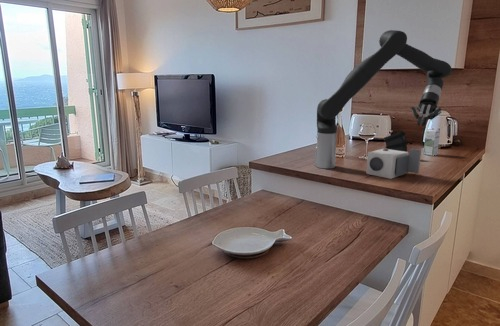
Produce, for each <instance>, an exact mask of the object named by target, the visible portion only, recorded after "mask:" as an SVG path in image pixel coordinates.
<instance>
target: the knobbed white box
mask: <svg viewBox="0 0 500 326" xmlns="http://www.w3.org/2000/svg"><path fill="white" fill-rule="evenodd" d="M405 155H409V152H408V151H407V152H404V151H397V150H390V149H387V148H384V147H383V148H381V149H376V150H373V151H372V150H370V151H368V152H367V155H366V156H367V158H366V159H367V160H366V173H365V174H367V175H371V176H376V177H381V178H384V179H390V180H391V179H394V178H397V177H399V176H403V175H405V174H407V173H405V174H402V175H399V176H396V165H397V158H398V157H402V156H405Z"/></svg>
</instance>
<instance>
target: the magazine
mask: <svg viewBox="0 0 500 326" xmlns="http://www.w3.org/2000/svg"><path fill="white" fill-rule="evenodd" d="M383 142H385V145H386V146H385V148H387V149H390V150H397V151H404V152H408V145H407V144H408V143H409V142H408V141H407V139H406V132H404V131H403V130H400V131H398V132H396V133H393V134H390V135H387V136H385V137H383Z"/></svg>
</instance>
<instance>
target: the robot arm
mask: <svg viewBox="0 0 500 326" xmlns="http://www.w3.org/2000/svg"><path fill="white" fill-rule="evenodd" d="M407 35H408V34H406V33H405V32H404V31H401V30H397V29H396V30H395V29H393V30H392V29H391V30H386V31H384V32H383V33H382V34H381V35H380V37H379V41H378V42H379V46H380V48H379V49H378V50H377V51H375V52H374V53H373V54H372V55H369V56H368V57H367V58H364V59H363V60H361V62H359V63H358V64H357V65H356V66H355V67H353V69H352V70H351V71H350V72H349V73H348V74H347V75H346V77H345V78H344V80H343V82H342V83H341V85H340V87H339V88H338V89H337V90H336V91H335V92H334V93H333V94H332V95H331V96H330V97H329V98H325V99H322V100H321V101H319V103H318V105H317V108H316V128H317V131H316V135H317V136H316V137H317V138H316V147H314V167H316V168H319V169H334V168H335V167H336V152H337V132H338V131H337V130H338V128H337V123H336V121H337V120H336V117H337V116H338V115H339V113H340V112H341V111H342V110H343V108H344V107H345V106H346V105H347V103H348V102H349V101H350V100H351V99H352V98H353V97H354V96H356V95H357V94H358V93H359V92H360V91H361V90H362V89H363V88H364V87H365V86H366V85H367V84H368V83H369V82H370V81H371V80H372V78H373V77H374V76H375V75H376V74H377V73H378V72H380V70H381V69H382V68H383V67H384V66H385V65H386V64H387V63H388V62H389V61H390V60H391V59H393V58H394V57H395V56H399V57H400V58H402V59H403V60H405V61H407V62H409V63H410V64H412V65H413V66H415V67H417V68H418V69H420V70H421V71H422V72H426V81H427V83H426V85H425V88H424V90H423V92H422V95H421V98H420V101H419V103H418V105H417V106H415V107H414V106H411V112H412V114H413V116H414V117H415V119H416V120H417V122H416V123H417V125H418V127H425V126H426V125H427V122H428V121H429V120H431V121H432V120H434V119H435V118H437V116H439V115H440V114H441V113H442V108H441V107H438V104H439V100H440V99H441V95H442V91H443V90H442V89H443V86H444V80H443V79H444V78H447V77H448V76H450V75H451V74H452V72H453V69H452V65H451V64H449V62H446V61H444V60H441V59H438V58H434V57H432V56H430V54H428V53H426V52H425V51H423V50H420V49H418V48H416V47H414V46H411V45H410V44H408V43H407V42H408V36H407ZM418 113H419V114H418Z"/></svg>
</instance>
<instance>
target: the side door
mask: <svg viewBox="0 0 500 326" xmlns="http://www.w3.org/2000/svg"><path fill="white" fill-rule="evenodd" d="M408 151H409V152H408V155H405V156H402V157H398V158H397V165H396V176H398V177H399V175H400V176H403V175H405V173H406V174H408V173H414V174H419V172H420V164H421V154H422V150H421V149H418V148H417V149H416V148H409V150H408ZM402 174H403V175H402Z"/></svg>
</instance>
